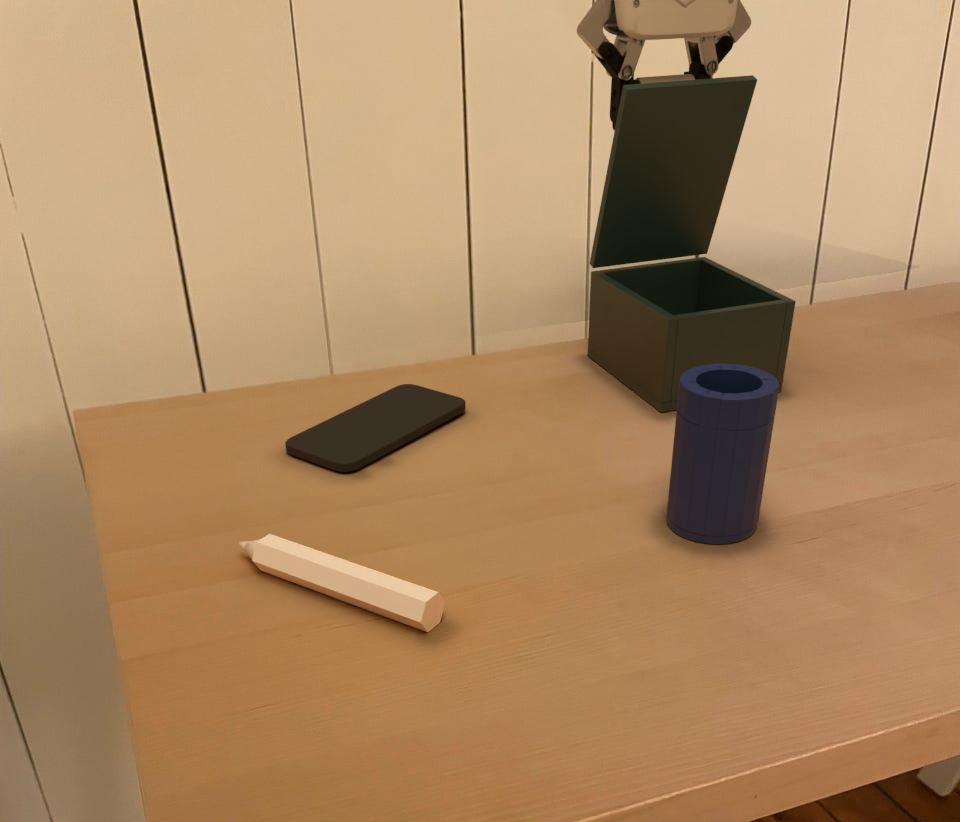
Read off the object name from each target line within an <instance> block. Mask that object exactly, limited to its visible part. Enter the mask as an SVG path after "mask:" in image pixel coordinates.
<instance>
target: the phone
mask: <svg viewBox="0 0 960 822" xmlns="http://www.w3.org/2000/svg"><path fill="white" fill-rule="evenodd" d="M466 407H467V406H466V400H465V399H464V398H462V397H460V396H457V395H453V394H450V393H446V392H442V391H440V390H436V389H431V388H428V387H425V386H420V385H418V384H412V383H404V384H399V385H396V386H394V387H392V388H390V389H388V390H386V391H384V392H382V393H379V394H378V395H376V396H373V397H371V398H369V399H367V400H365V401H363V402H361V403H359V404H356V405H355V406H352V407H351V408H349V409H347V410H345V411H342V412H340V413H338V414H336V415H333V416H332V417H330V418H328V419H326V420H323V421H322V422H320V423H318V424H316V425H313V426H311V427H309V428H307V429H305V430H303V431H301V432H299V433H296V434H294V435H292V436H291V437H289V438H288V439H286V441H285V443H284V446H285V451H286V453H287V454H289V455H291V456H294V457H297V458H299V459H302V460H305V461H308V462H311V463H312V464H316V465H318V466H321V467H324V468H327V469H330V470H333V471H335V472H339V473H350V472H354V471H356V470H359V469H361V468H363V467H365V466H366V465H368V464H370V463H372V462H374V461H376V460H377V459H380V458H381V457H383V456H385V455H387V454H389V453H391V452H393V451H394V450H396V449H398V448H400V447H402V446H404V445H405V444H407V443H409V442H411V441H413V440H415V439H416V438H418V437H420V436H422V435H424V434H426V433H427V432H429V431H431V430H433V429H435V428H437V427H438V426H440V425H442V424H445V423H446V422H448V421H450V420H452V419H453V418H455V417H457V416H459V415H460V414H462V413H464V412H465V411H466Z"/></svg>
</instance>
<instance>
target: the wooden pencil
mask: <svg viewBox="0 0 960 822" xmlns="http://www.w3.org/2000/svg"><path fill="white" fill-rule="evenodd" d="M234 543H235V544H236V545H237V546H238V547H239V548H240V549H242V551H244V552H245V553H246V554H247V555H248V556H249V557H250V558H251V561H252V562H253V564H254V565H255V566H256V567H257V568H258V569H259V570H260V571H261V572H263V573H267V574H269V575H272V576H275V577H276V578H279V579H283V580H286V581H288V582H290V583H294V584H296V585H298V586H302V587H304V588H306V589H309V590H313V591H315V592H318V593H321V594H323V595H326V596H328V597H331V598H334V599H336V600H339V601H342V602H345V603H347V604H350V605H353V606H355V607H358V608H360V609H363V610H367V611H369V612H372V613H374V614H377V615H380V616H382V617H385V618H388V619H391V620H394V621H396V622H399V623H401V624H403V625H407V626H410V627H412V628H415V629H418V630H420V631H422V632H426V633H429V632H430V631H432V630H433V629H434V628H435V627H436V626H438V625H439V624H440V623H441V620H442V616H443V612H444V609H445V605H446V602H445V599H444V598H443V596H442V595H441V594H440V592H439V591H437V590H433V589H430V588H427V587H425V586H422V585H419V584H416V583H413V582H410V581H407V580H405V579H402V578H399V577H396V576H392V575H390V574H387V573H384V572H381V571H378V570H375V569H373V568H370V567H367V566H364V565H361V564H359V563H355V562H352V561H350V560H347V559H344V558H341V557H337V556H336V555H333V554H329V553H327V552H324V551H320V550H317V549H315V548H312V547H309V546H306V545H303V544H300V543H297V542H295V541H292V540H289V539H286V538H283V537H281V536H278V535H275V534H272V533H268V534H266V535H265V536H264V537H262V538H260V539H255V540H247V541H234Z"/></svg>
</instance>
